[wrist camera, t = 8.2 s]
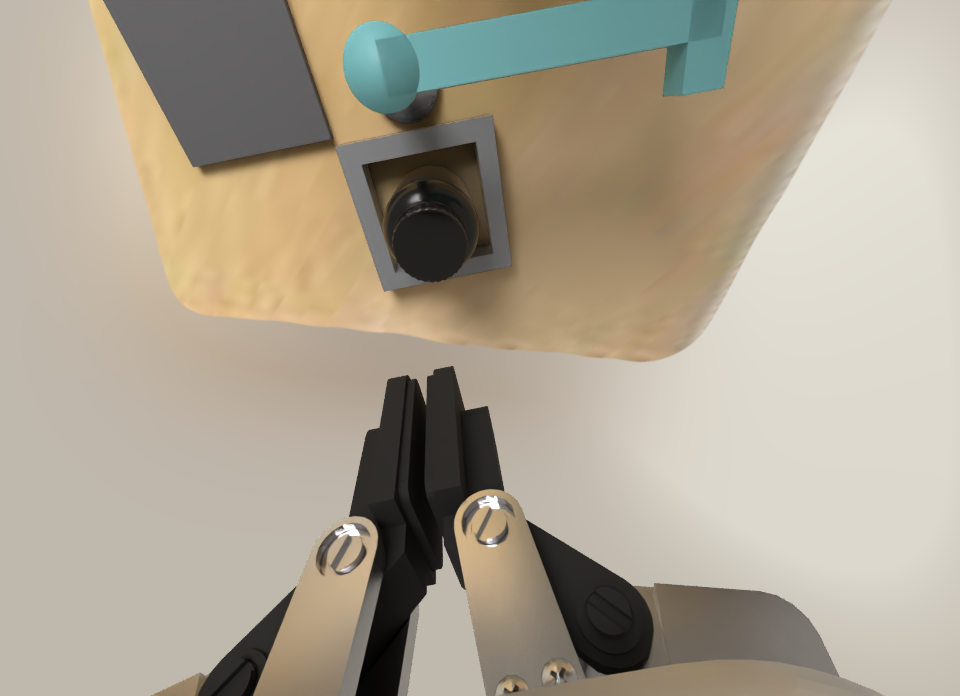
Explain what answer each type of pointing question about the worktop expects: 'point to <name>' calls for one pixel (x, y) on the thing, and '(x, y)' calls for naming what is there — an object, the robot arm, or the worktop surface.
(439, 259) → the supplement bottle
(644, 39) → the latch bar
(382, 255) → the bottle holder
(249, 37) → the rubber mat
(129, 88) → the worktop surface
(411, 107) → the latch post
